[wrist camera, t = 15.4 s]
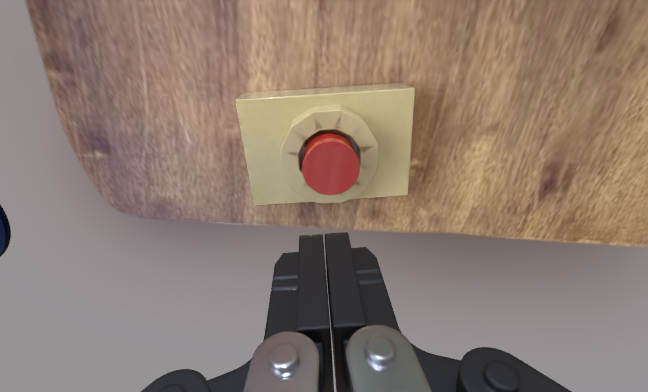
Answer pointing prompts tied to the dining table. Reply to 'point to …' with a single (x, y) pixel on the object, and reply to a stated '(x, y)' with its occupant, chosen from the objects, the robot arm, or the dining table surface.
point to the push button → (330, 164)
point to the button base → (327, 117)
